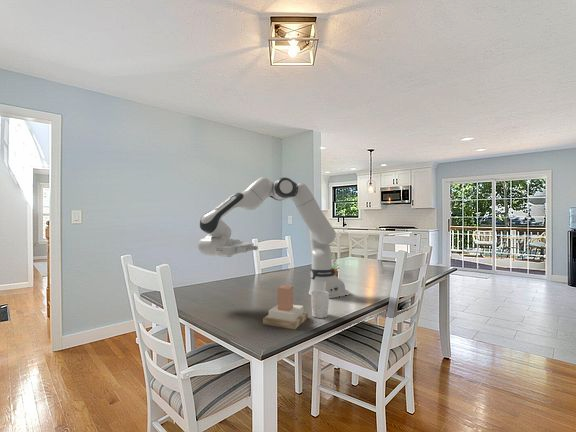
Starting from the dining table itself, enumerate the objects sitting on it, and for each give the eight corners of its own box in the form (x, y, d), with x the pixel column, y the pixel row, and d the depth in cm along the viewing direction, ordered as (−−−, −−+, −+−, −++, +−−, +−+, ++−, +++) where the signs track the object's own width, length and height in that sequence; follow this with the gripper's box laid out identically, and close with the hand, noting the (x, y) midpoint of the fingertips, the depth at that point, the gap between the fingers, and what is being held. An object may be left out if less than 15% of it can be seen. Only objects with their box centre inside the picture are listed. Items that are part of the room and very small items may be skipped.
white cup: (309, 312, 135) (309, 290, 135) (326, 312, 136) (326, 290, 136) (312, 319, 127) (312, 295, 127) (330, 318, 128) (330, 295, 128)
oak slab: (278, 314, 134) (278, 308, 134) (307, 319, 128) (307, 312, 128) (262, 325, 121) (262, 318, 121) (294, 331, 116) (294, 323, 116)
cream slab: (279, 309, 132) (279, 302, 132) (303, 312, 128) (303, 305, 128) (268, 317, 122) (268, 310, 122) (293, 321, 118) (293, 314, 118)
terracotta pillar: (282, 305, 128) (282, 284, 128) (293, 307, 126) (293, 285, 126) (277, 309, 123) (277, 287, 123) (289, 310, 121) (289, 288, 121)
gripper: (213, 243, 136) (239, 244, 130) (239, 239, 154) (262, 240, 148) (213, 257, 136) (239, 259, 130) (239, 251, 154) (262, 253, 148)
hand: (251, 249), depth 139 cm, fingers open, 8 cm apart
